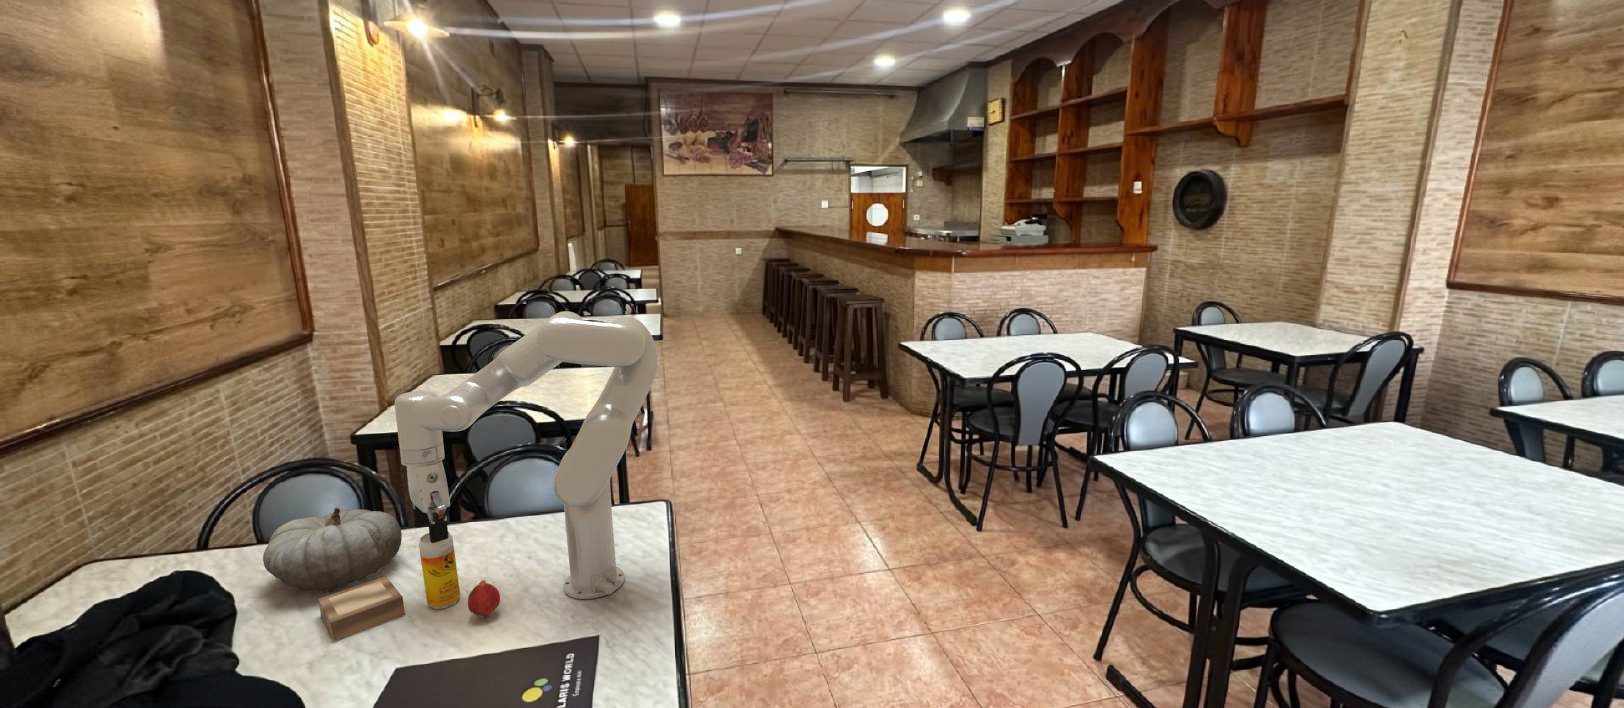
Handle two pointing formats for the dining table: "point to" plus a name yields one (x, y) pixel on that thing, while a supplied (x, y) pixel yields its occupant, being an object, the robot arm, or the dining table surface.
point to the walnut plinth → (361, 607)
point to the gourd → (332, 549)
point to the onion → (483, 599)
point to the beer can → (439, 572)
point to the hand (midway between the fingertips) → (431, 532)
